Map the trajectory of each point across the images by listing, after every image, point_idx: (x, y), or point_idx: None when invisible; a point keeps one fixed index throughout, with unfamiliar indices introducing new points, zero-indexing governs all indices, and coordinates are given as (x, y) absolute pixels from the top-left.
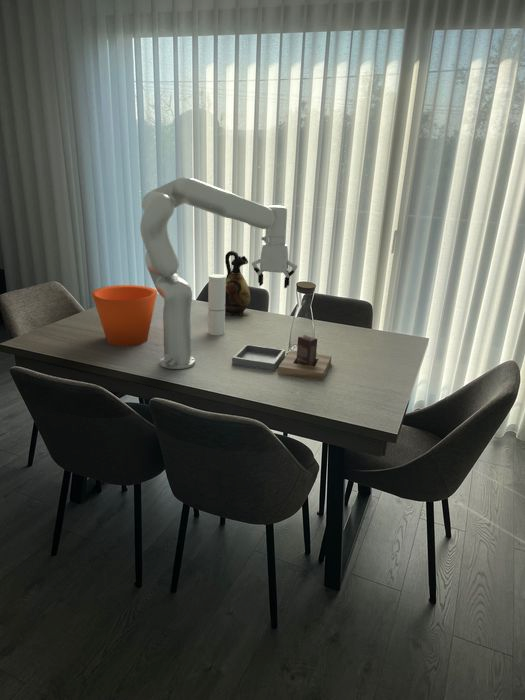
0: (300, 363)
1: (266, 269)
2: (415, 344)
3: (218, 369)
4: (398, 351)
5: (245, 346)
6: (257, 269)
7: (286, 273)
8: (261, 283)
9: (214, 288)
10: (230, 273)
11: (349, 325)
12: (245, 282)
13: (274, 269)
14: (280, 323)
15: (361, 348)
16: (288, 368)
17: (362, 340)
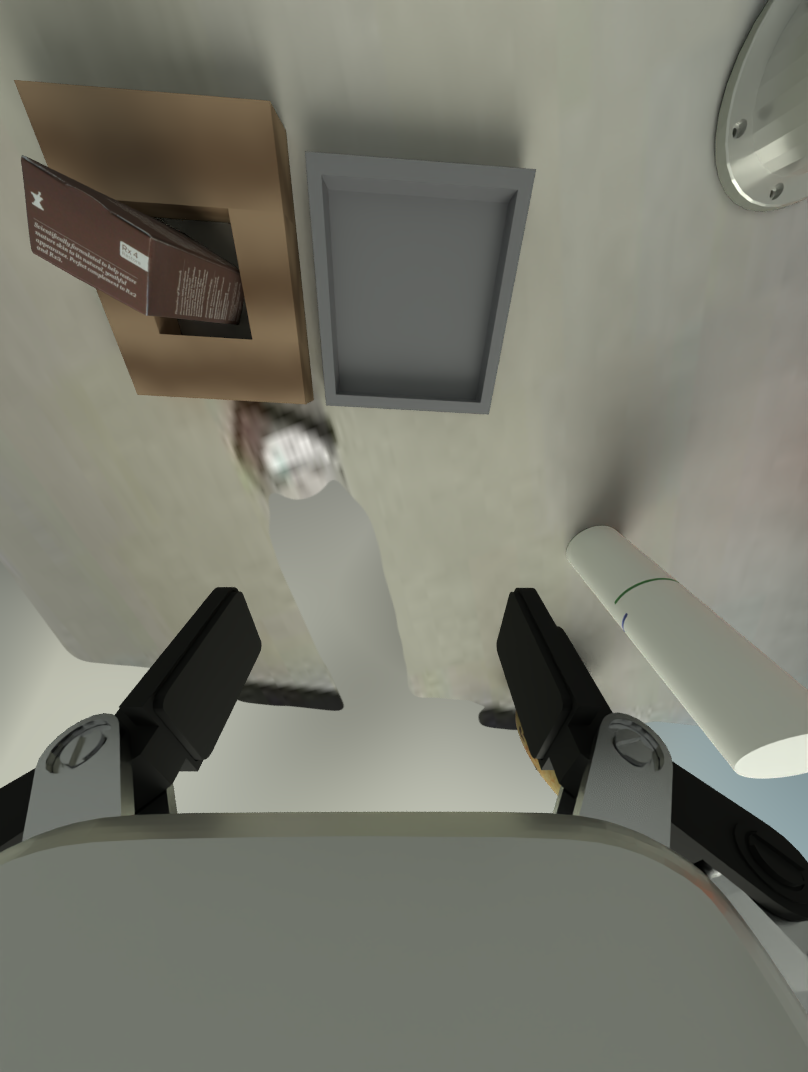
0: (209, 252)
1: (533, 899)
2: (61, 622)
3: (588, 70)
4: (60, 566)
5: (487, 382)
6: (721, 855)
7: (56, 809)
8: (516, 614)
9: (758, 663)
10: None
11: (262, 682)
12: (551, 781)
13: (250, 939)
14: (419, 654)
15: (156, 557)
16: (213, 98)
17: (186, 610)
